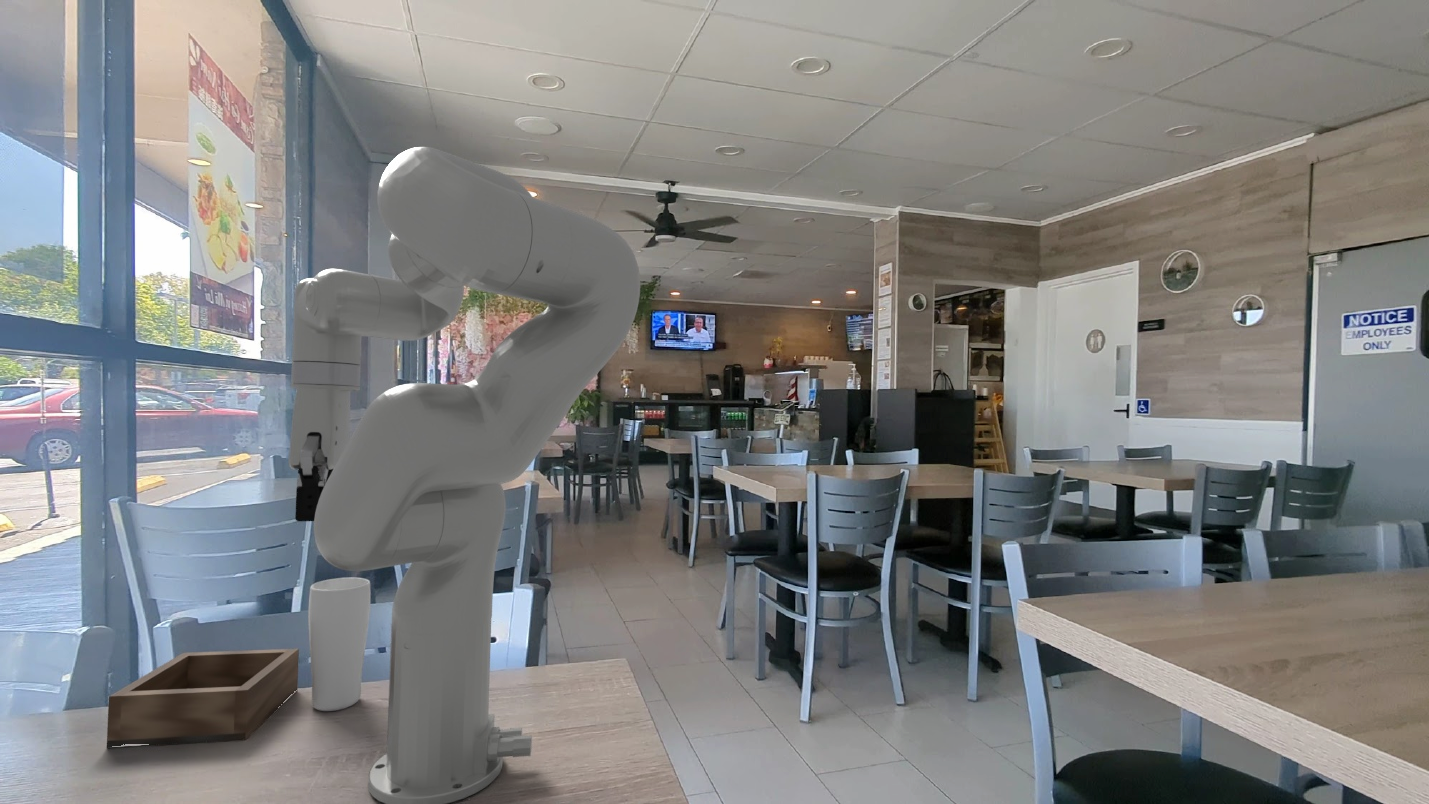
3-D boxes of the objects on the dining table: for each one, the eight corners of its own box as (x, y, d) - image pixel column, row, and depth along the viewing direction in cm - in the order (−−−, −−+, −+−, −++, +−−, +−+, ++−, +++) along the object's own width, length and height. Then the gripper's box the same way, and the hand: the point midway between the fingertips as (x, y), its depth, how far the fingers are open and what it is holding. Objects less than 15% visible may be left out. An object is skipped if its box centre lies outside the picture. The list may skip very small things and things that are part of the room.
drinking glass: (378, 694, 87) (382, 578, 87) (344, 717, 80) (348, 591, 81) (329, 691, 88) (333, 575, 88) (291, 713, 81) (296, 589, 81)
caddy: (297, 691, 87) (298, 648, 87) (245, 740, 74) (247, 690, 74) (181, 696, 85) (183, 652, 85) (106, 748, 72) (108, 696, 72)
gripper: (309, 380, 91) (304, 505, 91) (270, 373, 75) (264, 527, 75) (370, 382, 94) (366, 504, 93) (346, 376, 77) (340, 525, 77)
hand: (321, 514), depth 84 cm, fingers open, 9 cm apart
